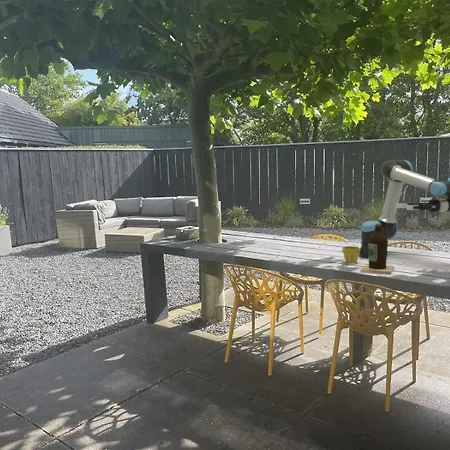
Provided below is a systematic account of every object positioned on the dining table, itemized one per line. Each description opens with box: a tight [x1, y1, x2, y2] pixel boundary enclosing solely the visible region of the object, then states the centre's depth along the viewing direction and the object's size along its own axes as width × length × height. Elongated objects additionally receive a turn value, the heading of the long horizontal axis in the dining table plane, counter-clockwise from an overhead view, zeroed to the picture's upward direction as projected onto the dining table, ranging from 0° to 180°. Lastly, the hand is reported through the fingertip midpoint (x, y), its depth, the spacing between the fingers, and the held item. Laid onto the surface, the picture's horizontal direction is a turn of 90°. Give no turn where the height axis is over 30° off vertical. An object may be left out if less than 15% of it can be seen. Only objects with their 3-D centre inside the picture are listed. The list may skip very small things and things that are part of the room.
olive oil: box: [368, 224, 389, 269], centre depth 244 cm, size 11×11×25 cm
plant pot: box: [341, 245, 361, 264], centre depth 268 cm, size 10×10×10 cm
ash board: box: [360, 263, 395, 276], centre depth 246 cm, size 16×16×2 cm
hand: (401, 206), depth 246 cm, fingers open, 13 cm apart
